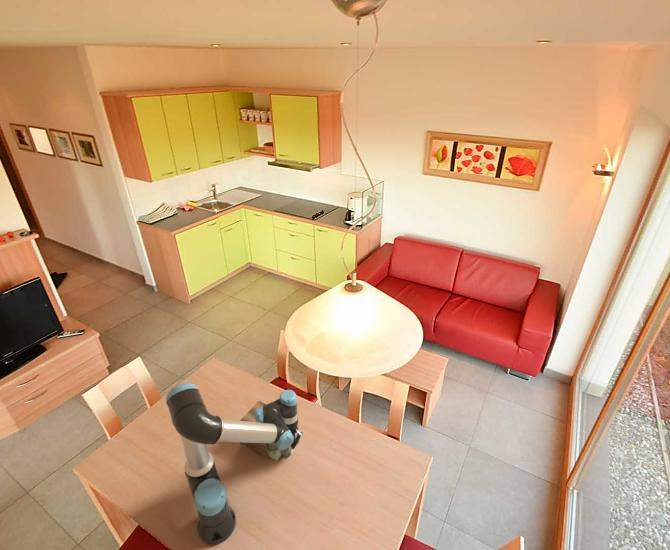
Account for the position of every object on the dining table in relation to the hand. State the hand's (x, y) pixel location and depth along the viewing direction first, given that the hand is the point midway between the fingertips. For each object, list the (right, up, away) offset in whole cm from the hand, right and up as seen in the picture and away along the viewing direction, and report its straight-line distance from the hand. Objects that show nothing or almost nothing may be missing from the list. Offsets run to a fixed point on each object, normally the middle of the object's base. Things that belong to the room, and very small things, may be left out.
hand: (291, 451), depth 191 cm
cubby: (-15, +3, +8) cm, 17 cm away
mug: (-11, +2, +5) cm, 12 cm away
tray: (-10, +2, +5) cm, 11 cm away
